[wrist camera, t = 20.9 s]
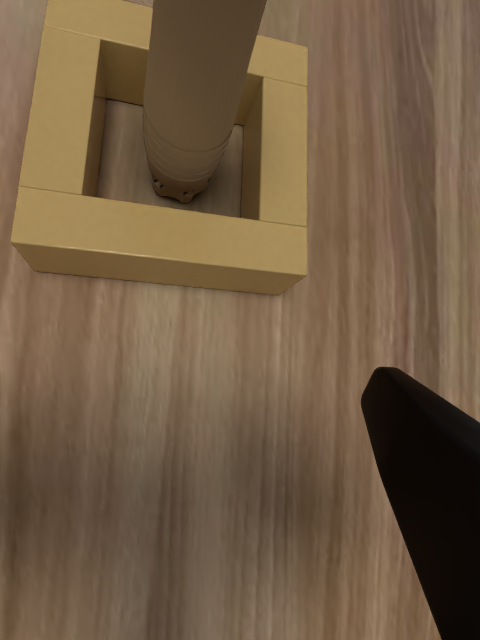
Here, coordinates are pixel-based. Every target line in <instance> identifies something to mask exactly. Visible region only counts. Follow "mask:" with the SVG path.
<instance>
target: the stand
mask: <svg viewBox="0 0 480 640" xmlns="http://www.w3.org/2000/svg"><path fill="white" fill-rule="evenodd" d="M152 13H153V8H152V7H148V6H144V5H140V4H136V3H132V2H128V1H124V0H48V1H47V8H46V14H45V20H44V27H43V32H42V39H41V45H40V51H39V58H38V64H37V71H36V77H35V83H34V90H33V96H32V103H31V109H30V115H29V122H28V128H27V135H26V141H25V147H24V154H23V160H22V167H21V173H20V179H19V188H18V194H17V201H16V207H15V213H14V220H13V226H12V233H11V239H10V241H11V243H12V244H13V245H14V247H15V248H16V249H17V250H18V252H19V253H20V254H21V255H22V256H23V258H24V259H25V260H26V261H27V262H28V264H29V265H30V266H31V267H32V269H33V270H34V271H40V272H51V273H61V274H71V275H81V276H91V277H101V278H111V279H121V280H131V281H141V282H151V283H161V284H171V285H181V286H191V287H201V288H211V289H222V290H232V291H242V292H252V293H262V294H272V295H281V294H282V293H283V292H285V291H286V290H288V289H289V288H290V287H292V286H293V285H294V284H296V283H297V282H299V281H300V280H301V279H303V278H304V277H306V276H307V86H308V48H307V47H305V46H301V45H297V44H293V43H289V42H286V41H282V40H278V39H274V38H270V37H266V36H262V35H258V34H257V37H256V41H255V44H254V48H253V52H252V55H251V59H250V63H249V67H248V71H247V75H246V79H245V83H244V87H243V91H242V95H241V99H240V103H239V107H238V111H237V115H236V119H235V122H234V123H235V124H240V125H244V142H243V170H242V198H241V218H237V217H230V216H223V215H216V214H209V213H202V212H195V211H188V210H181V209H174V208H167V207H160V206H153V205H146V204H139V203H132V202H125V201H118V200H111V199H104V198H97V197H96V189H97V181H98V172H99V163H100V154H101V145H102V137H103V128H104V119H105V110H106V102H107V98H109V99H114V100H119V101H124V102H129V103H134V104H139V105H143V101H144V100H143V97H144V88H145V79H146V70H147V61H148V52H149V43H150V34H151V23H152Z"/></svg>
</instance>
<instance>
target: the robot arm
mask: <svg viewBox="0 0 480 640" xmlns="http://www.w3.org/2000/svg"><path fill="white" fill-rule="evenodd" d="M361 407H362V411H363V415H364V419H365V422H366V426H367V430H368V434H369V437H370V441H371V445H372V449H373V452H374V456H375V460H376V464H377V467H378V470H379V474H380V477H381V479H382V482H383V485H384V488H385V491H386V493H387V496H388V498H389V501H390V504H391V506H392V509H393V512H394V514H395V517H396V520H397V522H398V525H399V528H400V530H401V533H402V536H403V538H404V541H405V544H406V546H407V549H408V552H409V554H410V557H411V559H412V562H413V565H414V567H415V570H416V573H417V575H418V578H419V581H420V583H421V586H422V589H423V591H424V594H425V597H426V599H427V602H428V605H429V607H430V610H431V613H432V615H433V618H434V620H435V623H436V626H437V628H438V631H439V634H440V636H441V639H442V640H480V423H479V422H478V421H476V420H475V419H473V418H472V417H470V416H469V415H467V414H466V413H464V412H463V411H461V410H460V409H458V408H457V407H455V406H454V405H452V404H451V403H449V402H448V401H446V400H445V399H443V398H442V397H440V396H439V395H437V394H436V393H434V392H433V391H431V390H430V389H428V388H427V387H425V386H424V385H422V384H421V383H419V382H418V381H416V380H415V379H413V378H412V377H410V376H409V375H407V374H406V373H404V372H403V371H401V370H400V369H398V368H394V367H378V368H376V369H375V370H374V372H373V374H372V376H371V378H370V380H369V382H368V384H367V386H366V388H365V390H364V392H363V394H362V398H361Z"/></svg>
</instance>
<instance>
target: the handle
mask: <svg viewBox="0 0 480 640" xmlns="http://www.w3.org/2000/svg"><path fill="white" fill-rule="evenodd" d="M266 1H267V0H154V2H153V13H152V23H151V34H150V43H149V52H148V61H147V70H146V79H145V88H144V97H143V100H144V101H143V129H144V142H145V150H146V156H147V160H148V164H149V167H150V169H151V171H152V173H153V178H152V182H153V187H154V189H155V191H156V192H157V193H158V194H159V195H161V196H170V197H174V198H176V199H178V200H179V201H180V202H182V203H186V202H189V201H190V200H191V199H192V196H193V195H194V194H196V193H197V192H202V191H203V190H204V189H205V188H206V186H207V184H208V182H209V180H210V176H211V175H212V174H213V172H214V170H215V169H216V167H217V165H218V163H219V161H220V159H221V157H222V155H223V153H224V151H225V149H226V146H227V143H228V141H229V138H230V135H231V132H232V129H233V126H234V122H235V119H236V115H237V111H238V107H239V103H240V99H241V95H242V91H243V87H244V83H245V79H246V75H247V71H248V67H249V63H250V59H251V55H252V52H253V48H254V44H255V41H256V37H257V34H258V30H259V26H260V23H261V19H262V15H263V12H264V8H265V4H266Z"/></svg>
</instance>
